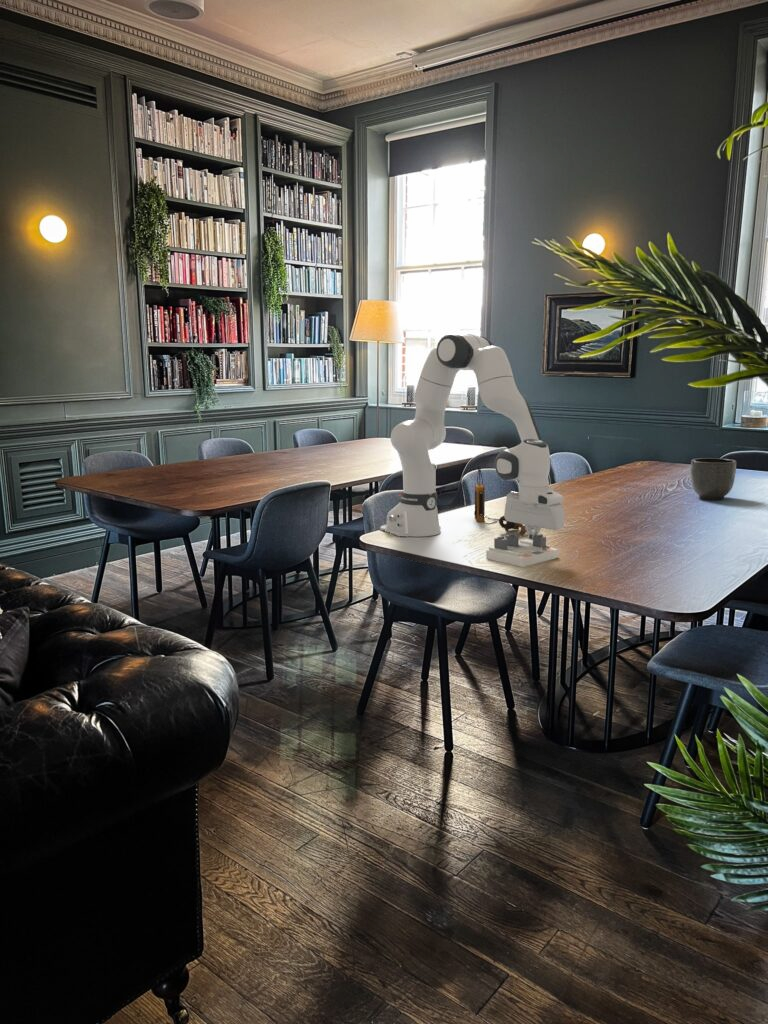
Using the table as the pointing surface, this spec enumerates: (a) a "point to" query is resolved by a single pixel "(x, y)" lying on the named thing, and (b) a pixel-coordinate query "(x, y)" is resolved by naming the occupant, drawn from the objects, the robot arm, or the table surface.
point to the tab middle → (512, 540)
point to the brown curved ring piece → (512, 525)
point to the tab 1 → (500, 543)
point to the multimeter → (480, 501)
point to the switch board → (522, 554)
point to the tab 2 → (539, 541)
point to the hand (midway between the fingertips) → (532, 540)
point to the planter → (712, 477)
